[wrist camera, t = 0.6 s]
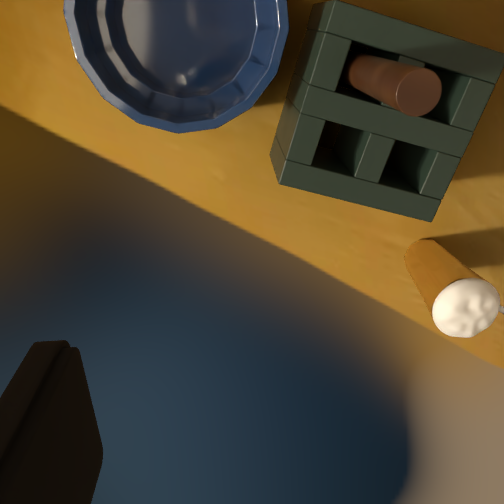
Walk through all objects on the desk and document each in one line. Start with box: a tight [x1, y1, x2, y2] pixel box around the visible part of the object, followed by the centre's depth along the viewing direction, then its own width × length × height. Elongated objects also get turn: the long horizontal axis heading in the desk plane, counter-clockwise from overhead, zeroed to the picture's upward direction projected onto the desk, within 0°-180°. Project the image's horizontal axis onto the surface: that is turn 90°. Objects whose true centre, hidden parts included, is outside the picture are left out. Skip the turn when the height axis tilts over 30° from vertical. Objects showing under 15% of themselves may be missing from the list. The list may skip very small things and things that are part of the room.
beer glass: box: [404, 239, 504, 338], centre depth 35 cm, size 5×5×10 cm
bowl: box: [63, 0, 289, 133], centre depth 29 cm, size 12×12×6 cm
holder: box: [270, 0, 504, 222], centre depth 31 cm, size 10×10×7 cm
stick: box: [339, 50, 442, 117], centre depth 26 cm, size 2×2×15 cm
